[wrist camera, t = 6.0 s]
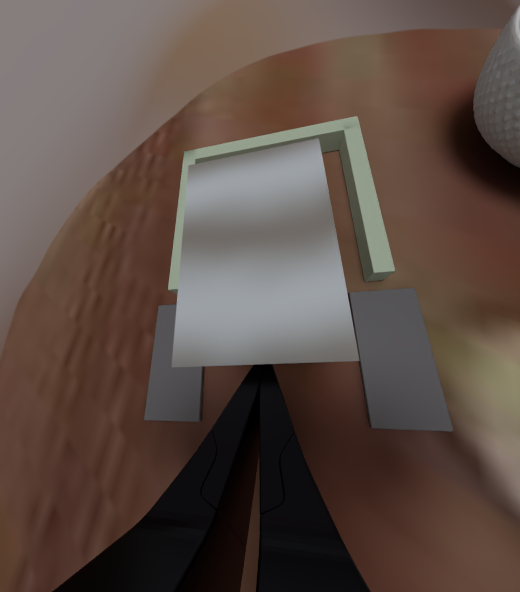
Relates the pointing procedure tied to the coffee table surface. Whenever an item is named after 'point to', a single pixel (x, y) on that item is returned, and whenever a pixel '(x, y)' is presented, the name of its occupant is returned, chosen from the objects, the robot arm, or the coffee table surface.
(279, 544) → the robot arm
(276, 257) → the block
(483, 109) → the cereal bowl
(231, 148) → the green u-shaped guide frame
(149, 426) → the coffee table surface
